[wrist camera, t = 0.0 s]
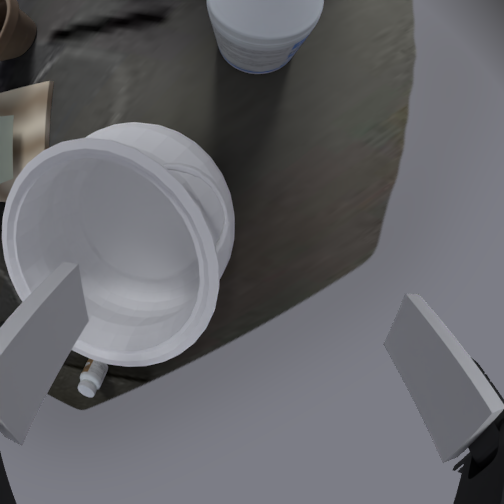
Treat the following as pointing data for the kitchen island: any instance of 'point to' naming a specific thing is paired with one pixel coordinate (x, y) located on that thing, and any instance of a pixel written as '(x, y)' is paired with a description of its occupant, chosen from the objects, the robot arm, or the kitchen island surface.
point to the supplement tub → (262, 31)
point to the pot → (125, 237)
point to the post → (27, 125)
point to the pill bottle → (92, 377)
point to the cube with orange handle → (6, 148)
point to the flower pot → (14, 30)
